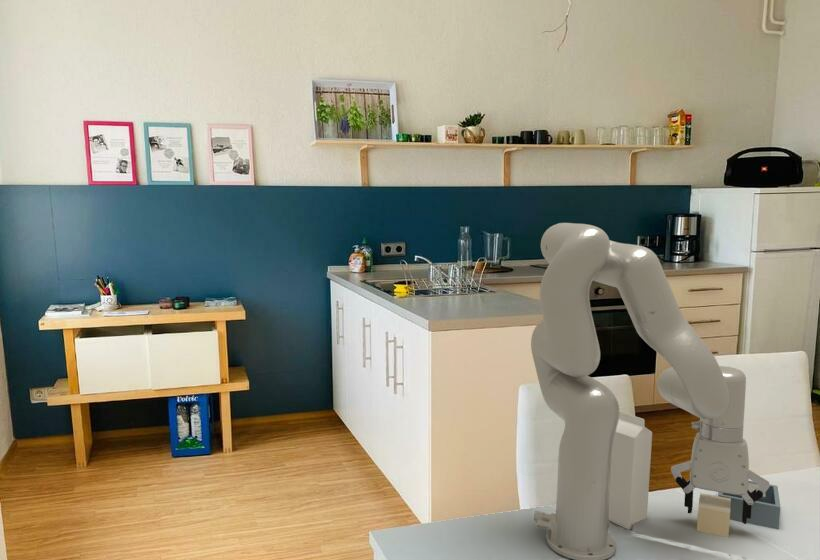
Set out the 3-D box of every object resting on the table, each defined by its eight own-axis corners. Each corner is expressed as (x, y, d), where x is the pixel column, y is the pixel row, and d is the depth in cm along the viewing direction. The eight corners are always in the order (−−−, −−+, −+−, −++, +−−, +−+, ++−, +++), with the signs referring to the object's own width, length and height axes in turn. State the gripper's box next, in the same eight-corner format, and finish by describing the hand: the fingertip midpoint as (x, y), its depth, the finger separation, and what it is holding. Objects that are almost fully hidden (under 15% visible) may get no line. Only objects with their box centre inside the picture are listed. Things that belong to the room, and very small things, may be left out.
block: (730, 513, 134) (732, 490, 133) (730, 502, 139) (732, 479, 138) (763, 520, 131) (765, 496, 130) (762, 508, 136) (764, 485, 136)
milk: (629, 530, 128) (635, 422, 125) (603, 518, 133) (609, 413, 130) (647, 521, 132) (653, 416, 129) (621, 510, 137) (627, 408, 134)
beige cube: (696, 535, 127) (698, 503, 126) (698, 523, 132) (700, 492, 131) (727, 542, 124) (730, 510, 124) (728, 530, 129) (730, 498, 128)
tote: (716, 521, 133) (718, 495, 132) (717, 499, 142) (719, 475, 142) (778, 534, 128) (780, 507, 127) (775, 510, 137) (777, 485, 137)
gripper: (671, 430, 126) (667, 514, 128) (773, 445, 118) (767, 534, 120) (674, 419, 133) (671, 499, 135) (771, 431, 125) (766, 516, 127)
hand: (716, 515), depth 128 cm, fingers open, 9 cm apart
